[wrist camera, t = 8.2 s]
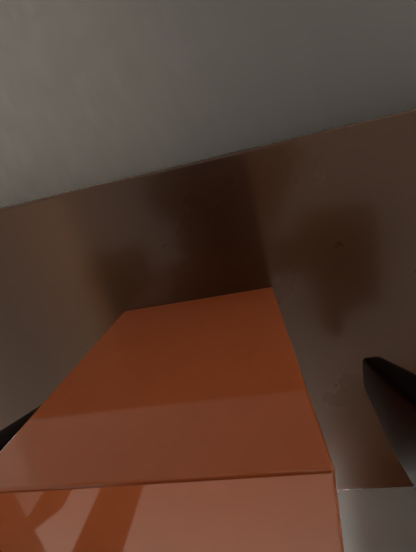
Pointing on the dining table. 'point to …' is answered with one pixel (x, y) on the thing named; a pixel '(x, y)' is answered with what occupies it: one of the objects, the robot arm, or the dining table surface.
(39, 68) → the dining table surface
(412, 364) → the board
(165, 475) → the terracotta block
